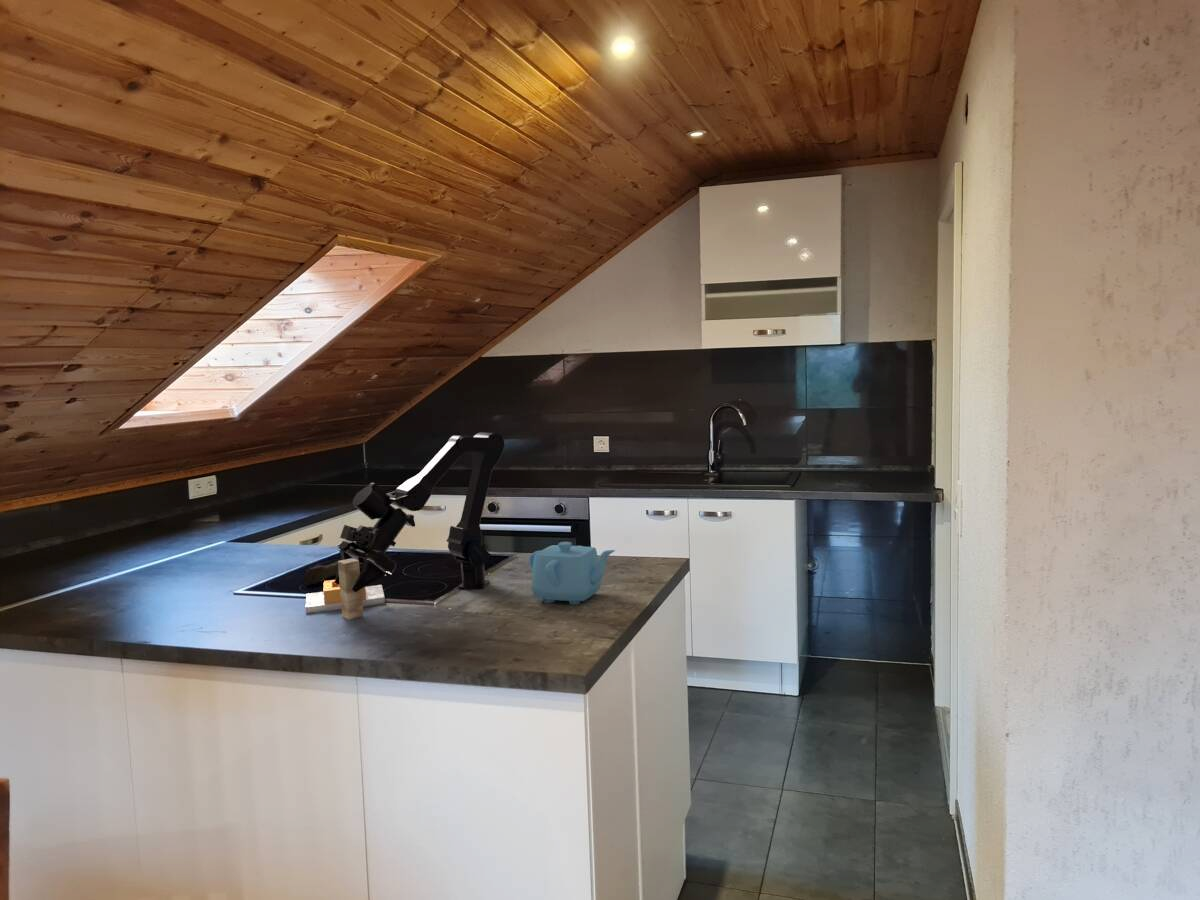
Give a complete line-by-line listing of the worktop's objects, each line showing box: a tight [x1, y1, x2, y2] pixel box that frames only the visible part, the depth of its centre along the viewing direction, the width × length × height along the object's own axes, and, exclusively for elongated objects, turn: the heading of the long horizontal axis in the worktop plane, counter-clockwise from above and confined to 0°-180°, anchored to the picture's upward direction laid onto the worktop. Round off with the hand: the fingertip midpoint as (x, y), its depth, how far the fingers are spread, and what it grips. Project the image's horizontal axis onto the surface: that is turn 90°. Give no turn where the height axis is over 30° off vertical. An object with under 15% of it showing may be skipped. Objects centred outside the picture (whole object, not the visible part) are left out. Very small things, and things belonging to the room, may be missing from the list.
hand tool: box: [305, 559, 342, 586], centre depth 236 cm, size 19×4×5 cm, turn 152°
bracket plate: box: [305, 579, 386, 614], centre depth 211 cm, size 18×12×4 cm, turn 107°
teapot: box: [528, 541, 616, 606], centre depth 206 cm, size 18×16×14 cm
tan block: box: [337, 558, 364, 620], centre depth 199 cm, size 4×4×13 cm
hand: (344, 587), depth 198 cm, fingers open, 9 cm apart
